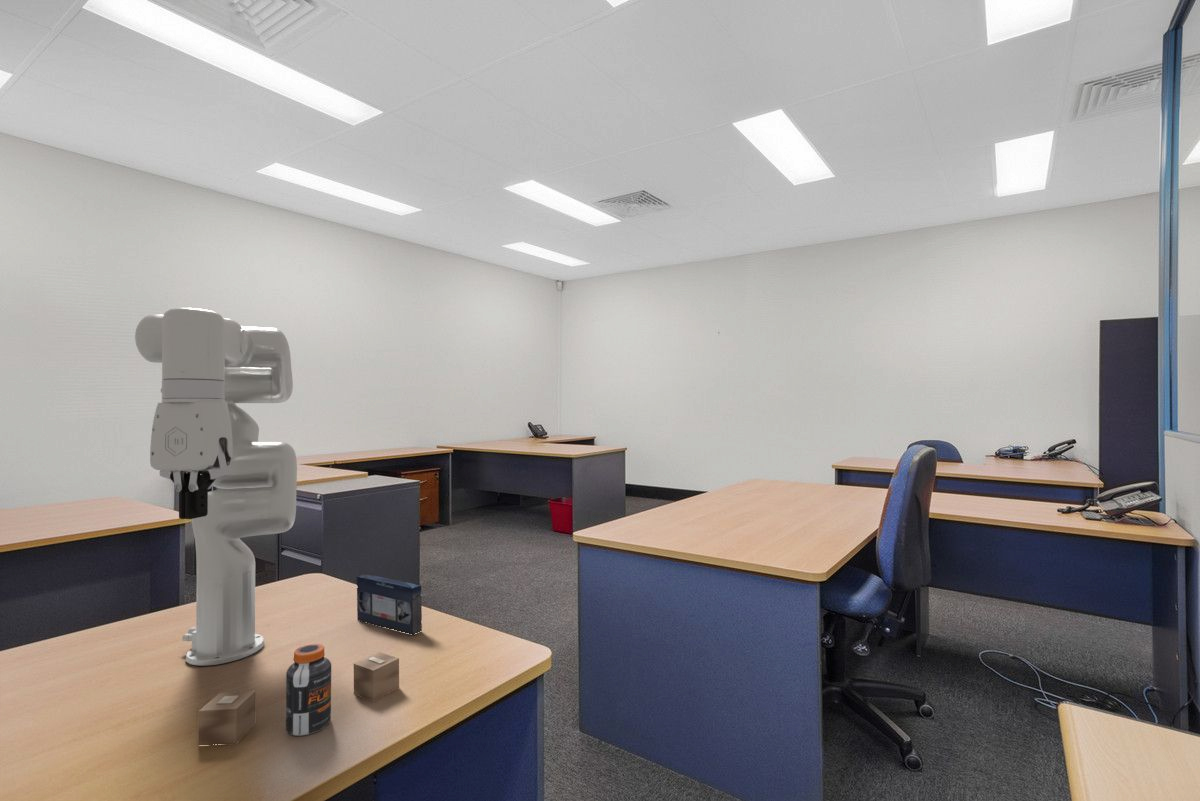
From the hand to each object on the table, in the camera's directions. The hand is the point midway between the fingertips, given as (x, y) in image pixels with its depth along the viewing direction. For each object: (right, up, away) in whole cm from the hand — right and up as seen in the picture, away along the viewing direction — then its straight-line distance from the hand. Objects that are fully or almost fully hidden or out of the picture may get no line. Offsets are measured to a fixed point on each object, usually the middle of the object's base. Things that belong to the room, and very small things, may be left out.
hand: (193, 517), depth 81 cm
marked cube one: (+6, -31, -2) cm, 32 cm away
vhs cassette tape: (+14, -32, +38) cm, 52 cm away
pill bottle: (+17, -31, 0) cm, 35 cm away
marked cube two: (+23, -31, +10) cm, 40 cm away
